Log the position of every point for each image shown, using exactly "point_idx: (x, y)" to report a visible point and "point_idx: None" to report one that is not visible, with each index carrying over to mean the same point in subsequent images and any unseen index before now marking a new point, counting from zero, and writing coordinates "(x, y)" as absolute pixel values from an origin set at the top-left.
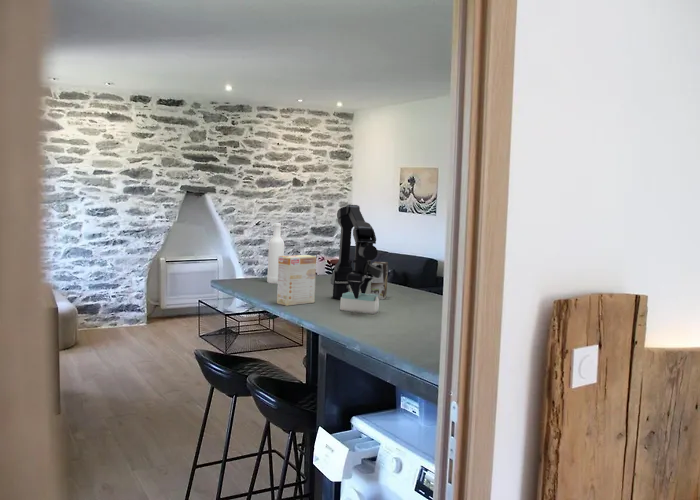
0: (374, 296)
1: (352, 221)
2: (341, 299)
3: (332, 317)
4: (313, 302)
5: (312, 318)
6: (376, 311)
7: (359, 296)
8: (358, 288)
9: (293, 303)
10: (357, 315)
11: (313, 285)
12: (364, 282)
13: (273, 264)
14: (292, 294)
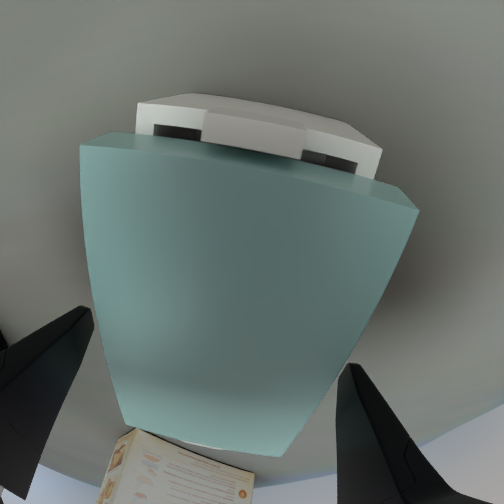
0: (310, 181)
1: None
2: None
3: (480, 360)
4: (141, 430)
5: (483, 401)
6: (267, 105)
7: (338, 368)
8: (424, 464)
9: (231, 470)
10: (436, 258)
11: (125, 492)
12: (10, 427)
13: None
14: (233, 501)
